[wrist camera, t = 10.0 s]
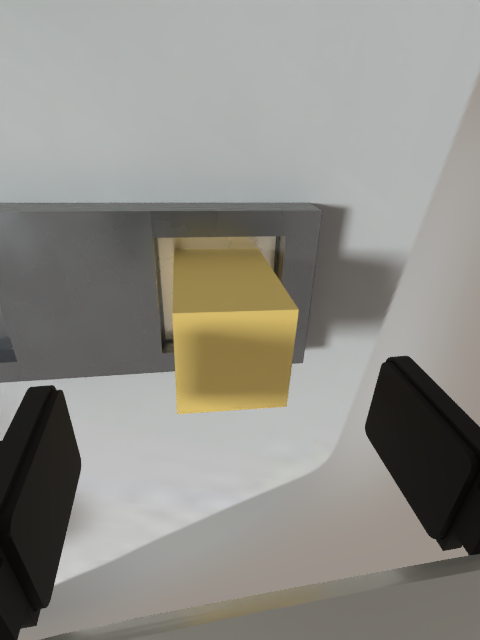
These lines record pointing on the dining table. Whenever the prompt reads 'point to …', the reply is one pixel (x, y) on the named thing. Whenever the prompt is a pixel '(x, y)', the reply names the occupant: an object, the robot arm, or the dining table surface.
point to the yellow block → (230, 331)
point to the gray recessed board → (127, 278)
